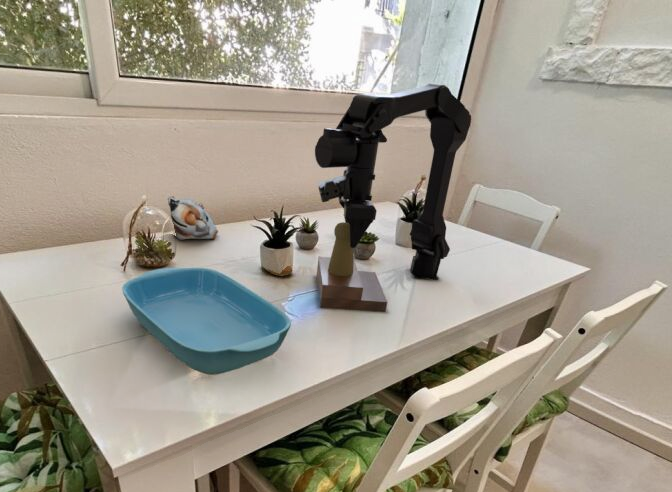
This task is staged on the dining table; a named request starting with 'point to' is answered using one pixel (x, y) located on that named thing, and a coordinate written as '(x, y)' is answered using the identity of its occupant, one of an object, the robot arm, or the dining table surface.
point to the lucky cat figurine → (191, 220)
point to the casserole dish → (206, 318)
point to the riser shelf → (349, 289)
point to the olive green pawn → (342, 252)
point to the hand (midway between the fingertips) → (350, 240)
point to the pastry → (284, 272)
